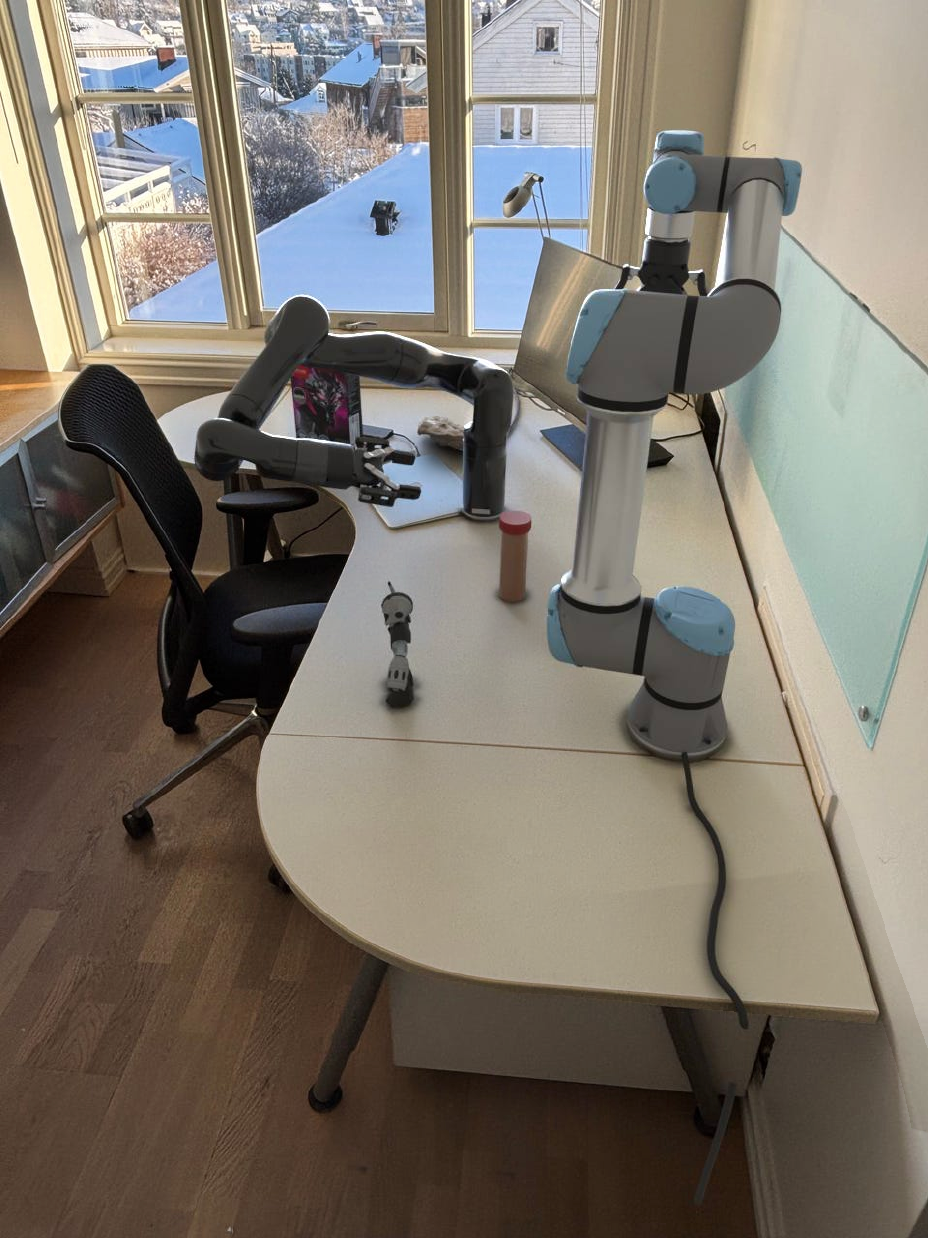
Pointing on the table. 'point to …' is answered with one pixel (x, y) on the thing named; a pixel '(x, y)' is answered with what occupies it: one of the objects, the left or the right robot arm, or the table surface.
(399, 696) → the robot
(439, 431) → the stone
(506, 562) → the jar
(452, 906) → the table surface
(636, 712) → the right robot arm
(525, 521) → the lid
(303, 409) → the graphics card box
